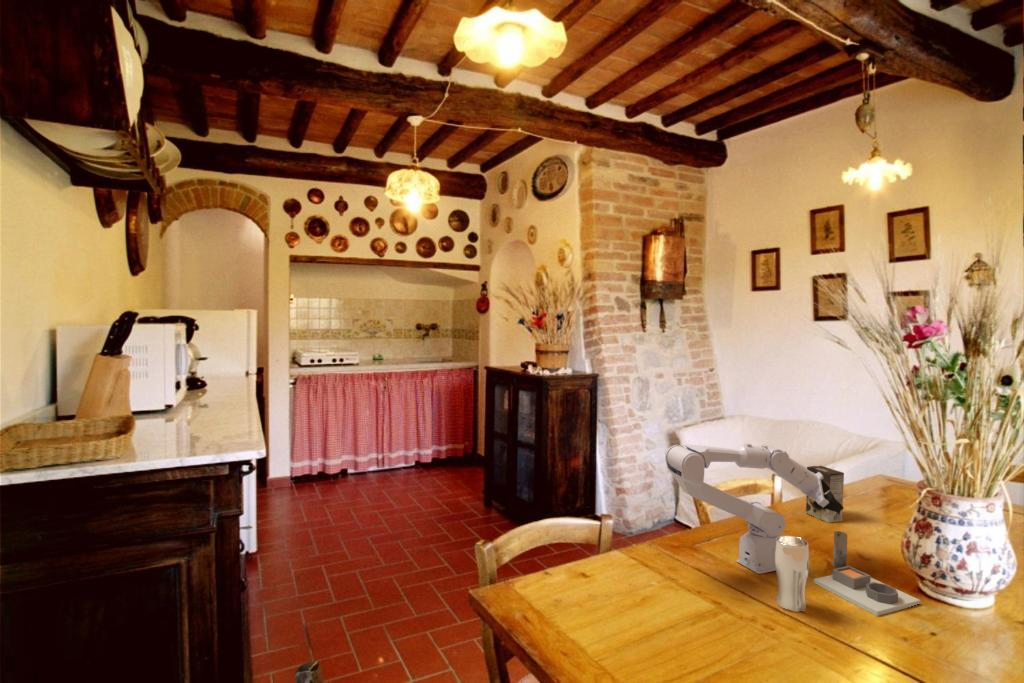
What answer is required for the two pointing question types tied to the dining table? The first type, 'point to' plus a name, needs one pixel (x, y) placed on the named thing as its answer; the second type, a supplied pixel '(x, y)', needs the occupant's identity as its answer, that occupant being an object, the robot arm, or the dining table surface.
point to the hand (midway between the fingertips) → (833, 499)
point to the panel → (864, 599)
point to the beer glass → (791, 571)
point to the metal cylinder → (840, 549)
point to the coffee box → (836, 487)
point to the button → (851, 573)
